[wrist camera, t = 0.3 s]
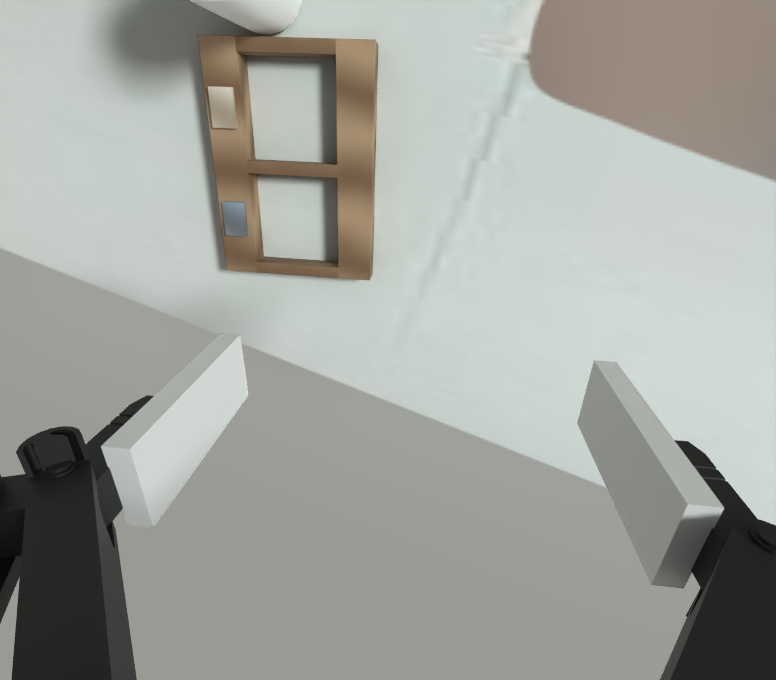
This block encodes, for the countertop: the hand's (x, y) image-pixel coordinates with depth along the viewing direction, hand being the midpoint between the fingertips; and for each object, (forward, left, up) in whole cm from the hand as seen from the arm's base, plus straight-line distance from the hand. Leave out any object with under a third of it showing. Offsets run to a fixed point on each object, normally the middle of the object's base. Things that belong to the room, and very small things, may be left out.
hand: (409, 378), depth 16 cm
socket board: (-5, -12, -27) cm, 30 cm away
